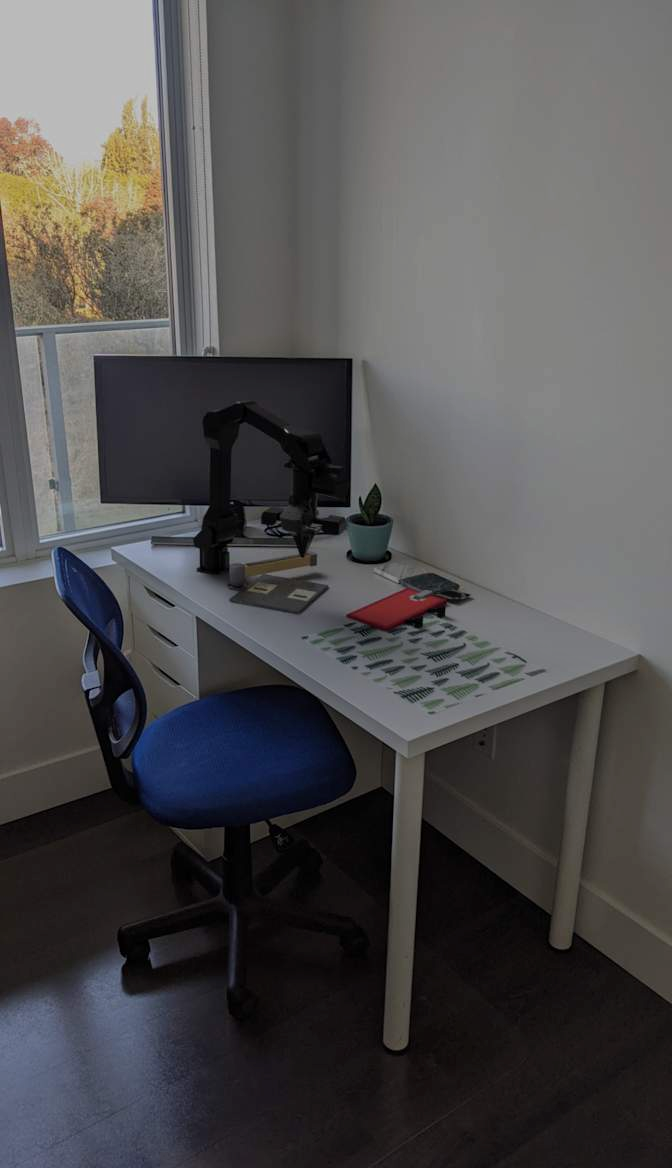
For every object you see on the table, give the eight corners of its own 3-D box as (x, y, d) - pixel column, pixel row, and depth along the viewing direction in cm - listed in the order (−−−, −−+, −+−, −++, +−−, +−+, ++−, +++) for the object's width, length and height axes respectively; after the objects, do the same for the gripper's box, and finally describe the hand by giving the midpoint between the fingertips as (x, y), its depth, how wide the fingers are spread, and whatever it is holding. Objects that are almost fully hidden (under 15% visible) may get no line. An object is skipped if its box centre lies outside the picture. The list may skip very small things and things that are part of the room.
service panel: (210, 597, 208) (210, 593, 208) (245, 573, 224) (245, 569, 223) (298, 613, 201) (298, 610, 201) (328, 587, 217) (328, 583, 216)
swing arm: (234, 587, 212) (234, 569, 211) (227, 582, 215) (226, 564, 214) (317, 571, 225) (318, 554, 223) (309, 566, 227) (310, 550, 226)
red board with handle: (478, 600, 213) (426, 584, 222) (479, 589, 212) (426, 574, 221) (400, 639, 191) (346, 620, 201) (400, 627, 190) (346, 608, 200)
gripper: (250, 493, 196) (249, 561, 202) (330, 504, 190) (328, 574, 196) (271, 481, 206) (271, 547, 212) (349, 492, 200) (346, 559, 206)
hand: (302, 557), depth 206 cm, fingers closed
